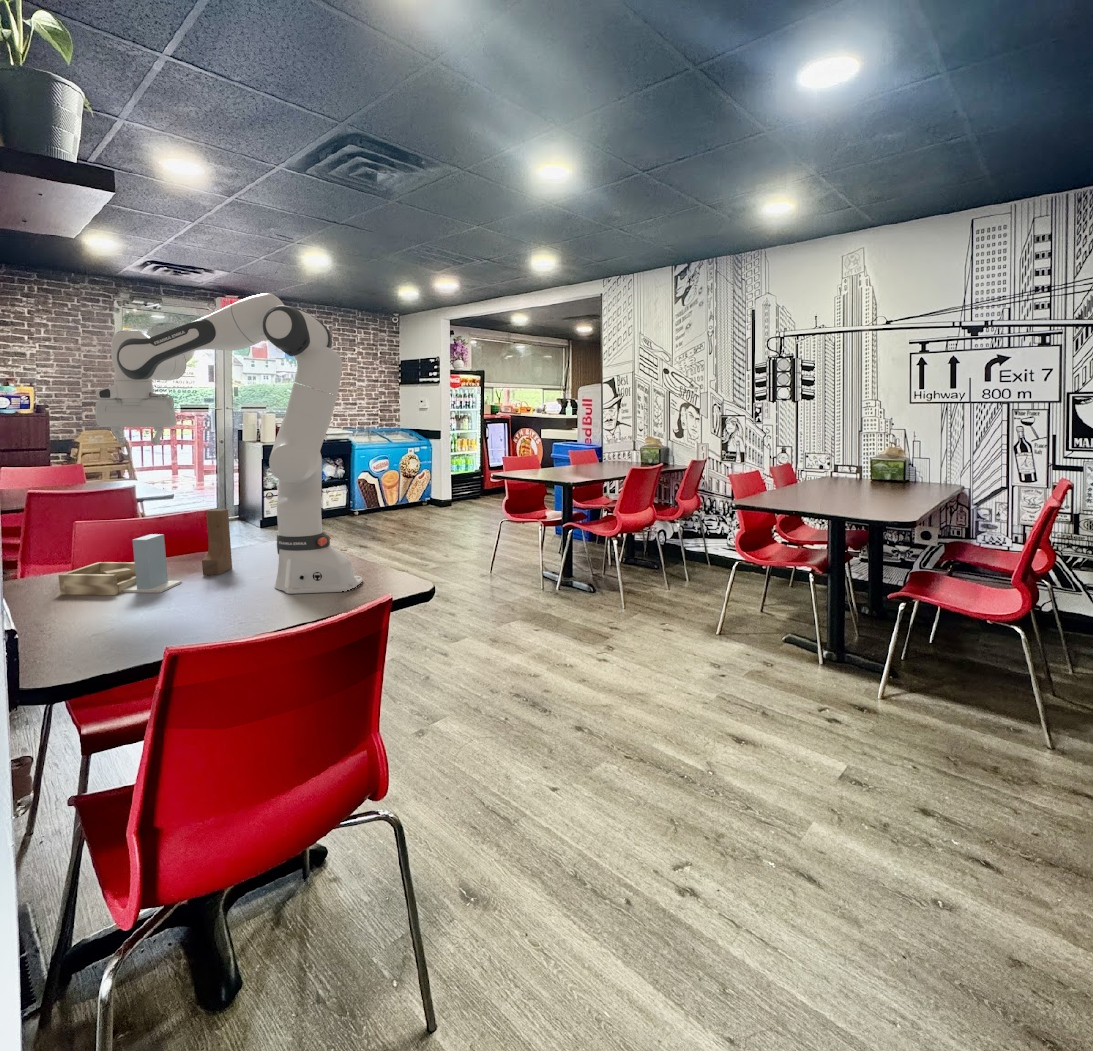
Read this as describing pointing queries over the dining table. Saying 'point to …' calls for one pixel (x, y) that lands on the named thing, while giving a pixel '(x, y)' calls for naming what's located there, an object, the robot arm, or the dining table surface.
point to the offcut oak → (120, 573)
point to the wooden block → (218, 543)
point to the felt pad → (154, 590)
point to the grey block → (150, 561)
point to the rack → (96, 579)
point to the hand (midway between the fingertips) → (138, 444)
